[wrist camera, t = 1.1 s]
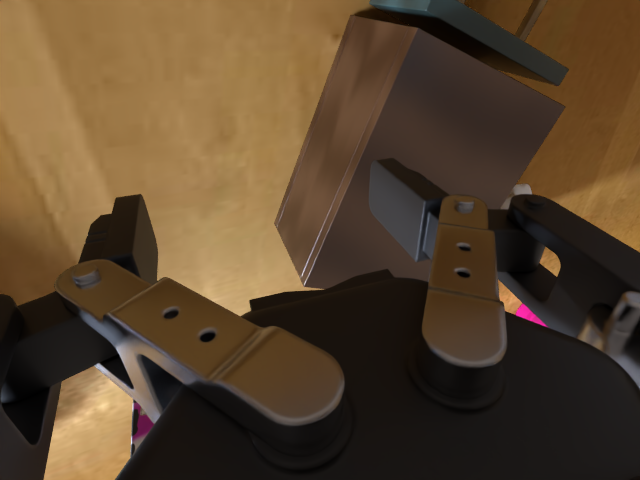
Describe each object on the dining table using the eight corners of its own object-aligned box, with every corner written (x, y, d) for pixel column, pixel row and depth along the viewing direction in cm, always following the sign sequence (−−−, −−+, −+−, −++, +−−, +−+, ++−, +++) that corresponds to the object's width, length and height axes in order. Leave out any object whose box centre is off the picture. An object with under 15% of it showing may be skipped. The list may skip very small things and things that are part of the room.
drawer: (414, -116, 24) (494, -146, 18) (537, -23, 30) (627, -24, 24) (295, 196, 33) (323, 242, 28) (406, 221, 39) (449, 263, 33)
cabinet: (350, 14, 28) (417, 27, 21) (479, 79, 34) (566, 106, 27) (273, 223, 35) (303, 287, 28) (392, 244, 42) (441, 300, 34)
